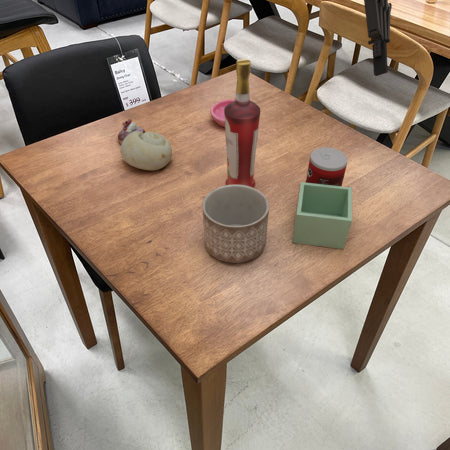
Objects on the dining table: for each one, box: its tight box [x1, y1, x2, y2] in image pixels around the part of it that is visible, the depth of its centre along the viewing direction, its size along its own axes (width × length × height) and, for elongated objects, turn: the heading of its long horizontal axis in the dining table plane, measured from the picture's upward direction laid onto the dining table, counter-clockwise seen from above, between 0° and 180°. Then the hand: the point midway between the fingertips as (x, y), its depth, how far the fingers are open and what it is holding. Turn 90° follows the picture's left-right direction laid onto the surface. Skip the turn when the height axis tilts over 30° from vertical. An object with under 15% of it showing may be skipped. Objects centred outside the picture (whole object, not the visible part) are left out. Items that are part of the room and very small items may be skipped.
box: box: [291, 181, 353, 250], centre depth 91 cm, size 11×11×8 cm
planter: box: [201, 184, 270, 264], centre depth 87 cm, size 13×13×10 cm
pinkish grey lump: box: [117, 118, 147, 145], centre depth 114 cm, size 8×8×5 cm
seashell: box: [119, 131, 173, 171], centre depth 106 cm, size 13×8×10 cm
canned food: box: [305, 146, 348, 187], centre depth 95 cm, size 8×8×11 cm
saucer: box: [209, 98, 235, 128], centre depth 121 cm, size 12×12×3 cm
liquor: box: [224, 58, 261, 188], centre depth 92 cm, size 7×7×28 cm
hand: (380, 73), depth 101 cm, fingers closed
